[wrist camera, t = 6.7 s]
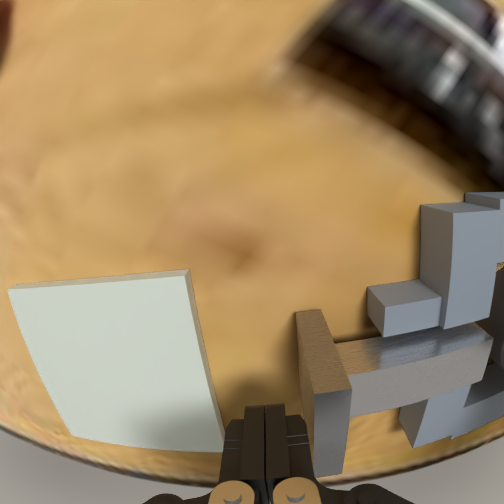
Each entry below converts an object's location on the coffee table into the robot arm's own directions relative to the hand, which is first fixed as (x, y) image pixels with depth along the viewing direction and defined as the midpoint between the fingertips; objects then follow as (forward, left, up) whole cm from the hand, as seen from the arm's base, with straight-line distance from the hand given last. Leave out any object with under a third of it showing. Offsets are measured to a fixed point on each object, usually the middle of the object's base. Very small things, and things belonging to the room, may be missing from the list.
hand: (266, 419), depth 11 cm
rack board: (+1, -9, -5) cm, 10 cm away
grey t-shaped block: (0, +6, -5) cm, 8 cm away
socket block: (0, +14, -5) cm, 15 cm away
